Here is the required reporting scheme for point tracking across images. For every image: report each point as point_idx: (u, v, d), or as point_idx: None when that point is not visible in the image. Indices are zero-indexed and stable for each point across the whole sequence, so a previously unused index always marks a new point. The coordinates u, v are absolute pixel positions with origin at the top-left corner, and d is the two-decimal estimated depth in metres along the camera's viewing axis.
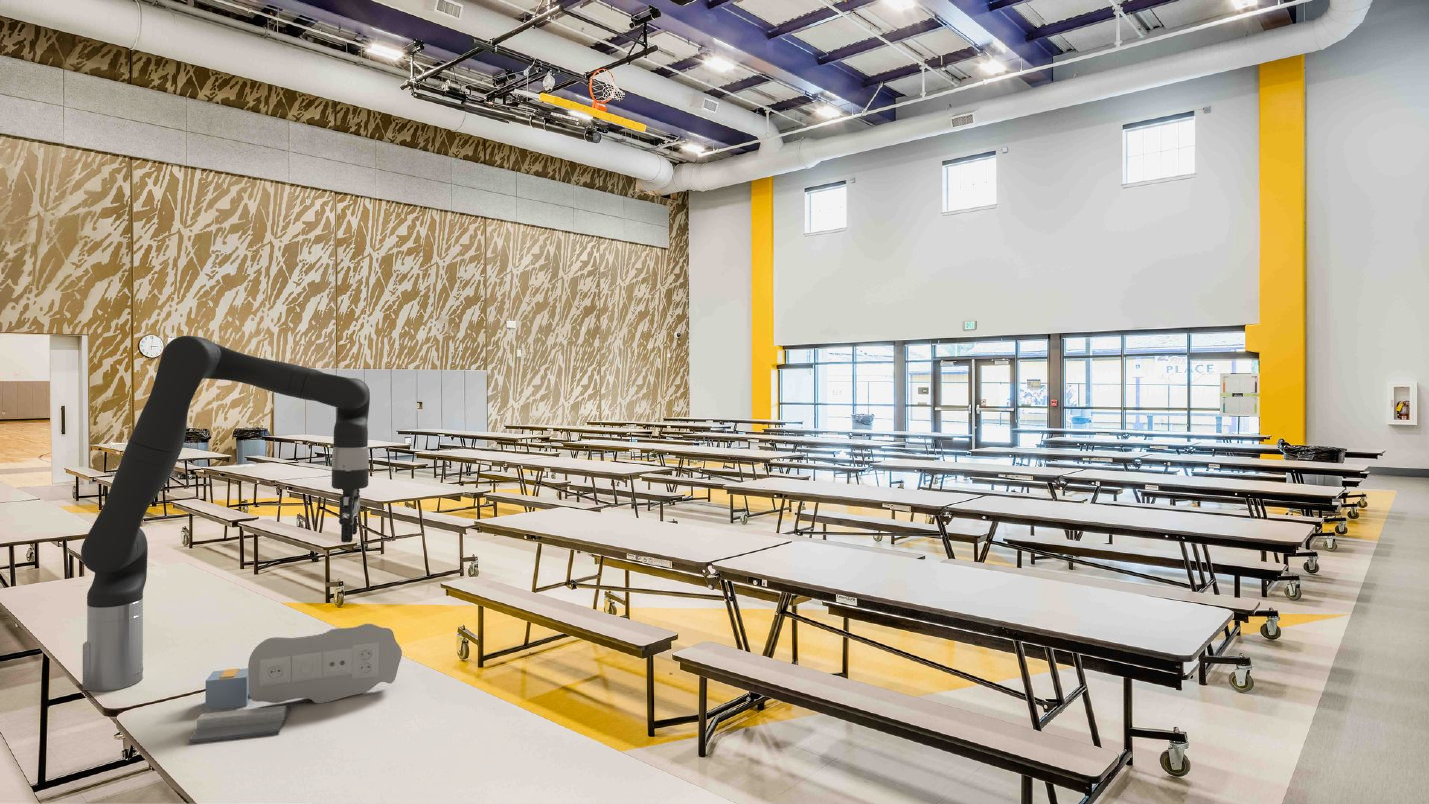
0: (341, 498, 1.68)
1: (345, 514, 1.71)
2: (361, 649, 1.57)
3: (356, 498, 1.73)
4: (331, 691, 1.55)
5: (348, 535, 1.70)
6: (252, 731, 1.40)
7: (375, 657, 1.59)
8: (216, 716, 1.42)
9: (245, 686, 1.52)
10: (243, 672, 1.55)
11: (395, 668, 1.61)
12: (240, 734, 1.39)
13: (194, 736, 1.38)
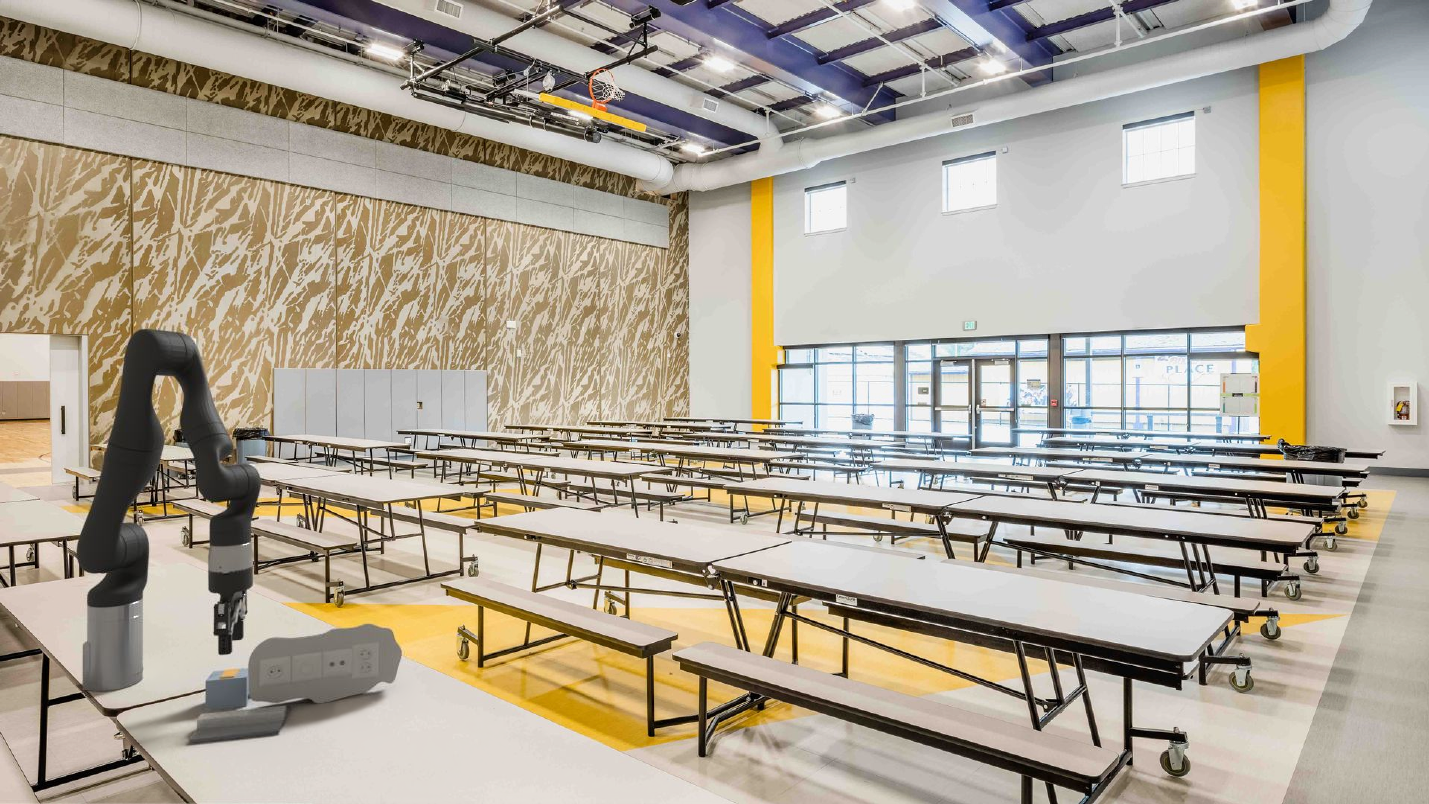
0: (215, 606, 1.47)
1: (223, 622, 1.50)
2: (361, 649, 1.57)
3: (237, 602, 1.52)
4: (331, 691, 1.55)
5: (226, 647, 1.49)
6: (252, 731, 1.40)
7: (375, 657, 1.59)
8: (216, 716, 1.42)
9: (245, 686, 1.52)
10: (243, 672, 1.55)
11: (395, 668, 1.61)
12: (240, 734, 1.39)
13: (194, 736, 1.38)
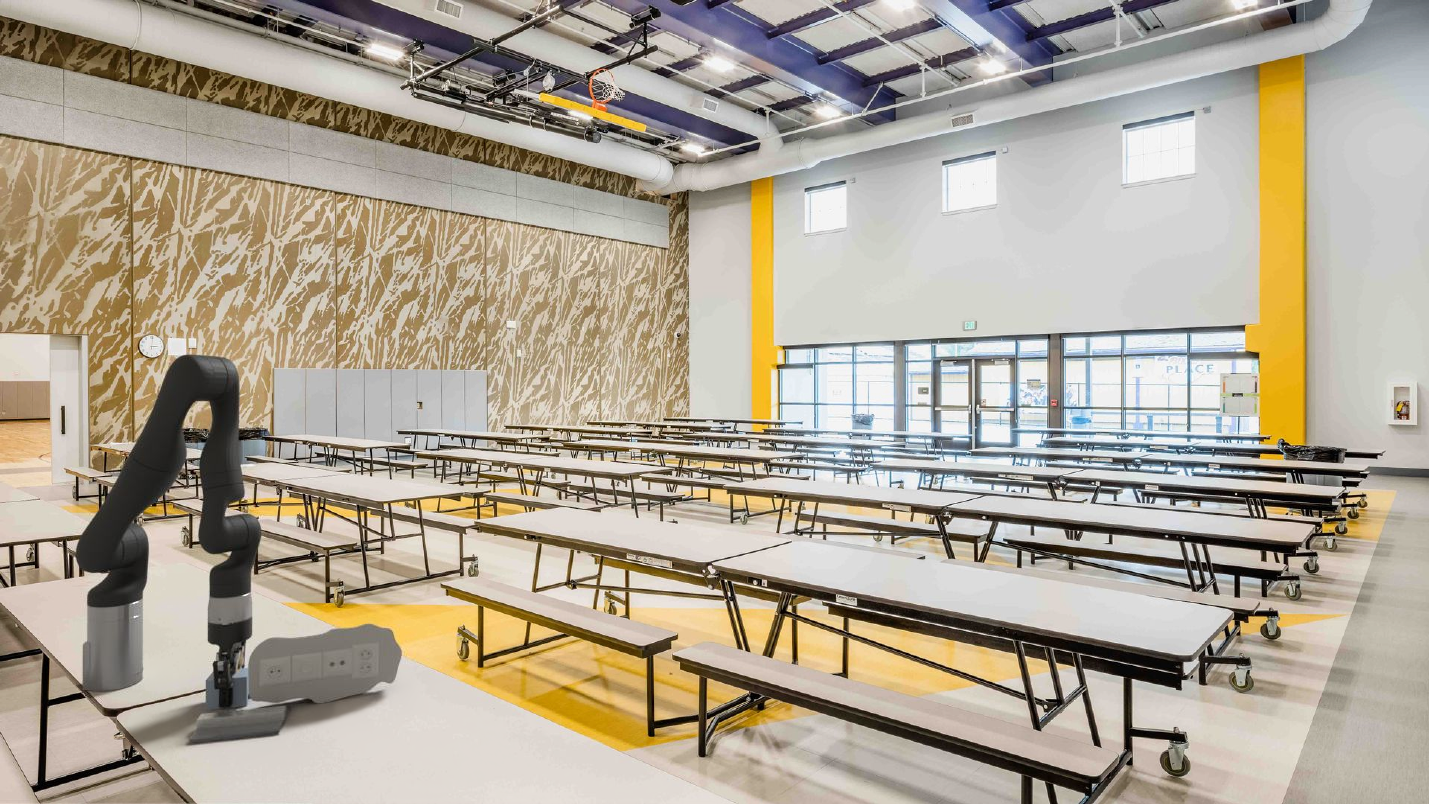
0: (214, 664, 1.47)
1: None
2: (361, 649, 1.57)
3: (236, 654, 1.52)
4: (331, 691, 1.55)
5: (226, 700, 1.50)
6: (252, 731, 1.40)
7: (375, 657, 1.59)
8: (216, 716, 1.42)
9: (245, 686, 1.52)
10: (243, 672, 1.55)
11: (395, 668, 1.61)
12: (240, 734, 1.39)
13: (194, 736, 1.38)
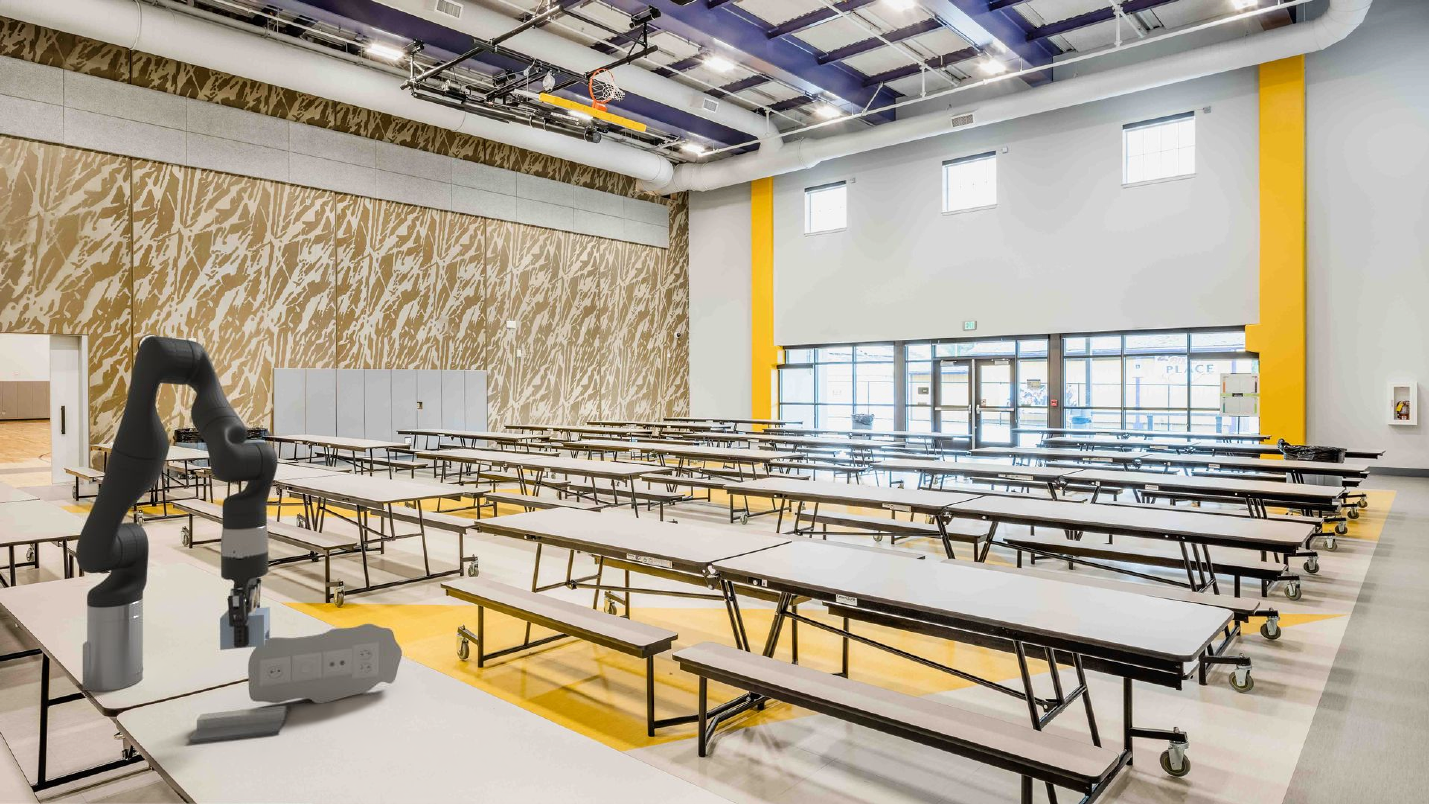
0: (229, 599, 1.37)
1: None
2: (361, 649, 1.57)
3: (252, 590, 1.42)
4: (331, 691, 1.55)
5: (242, 639, 1.40)
6: (252, 731, 1.40)
7: (375, 657, 1.59)
8: (216, 716, 1.42)
9: (262, 624, 1.42)
10: (259, 610, 1.45)
11: (395, 668, 1.61)
12: (240, 734, 1.39)
13: (194, 736, 1.38)
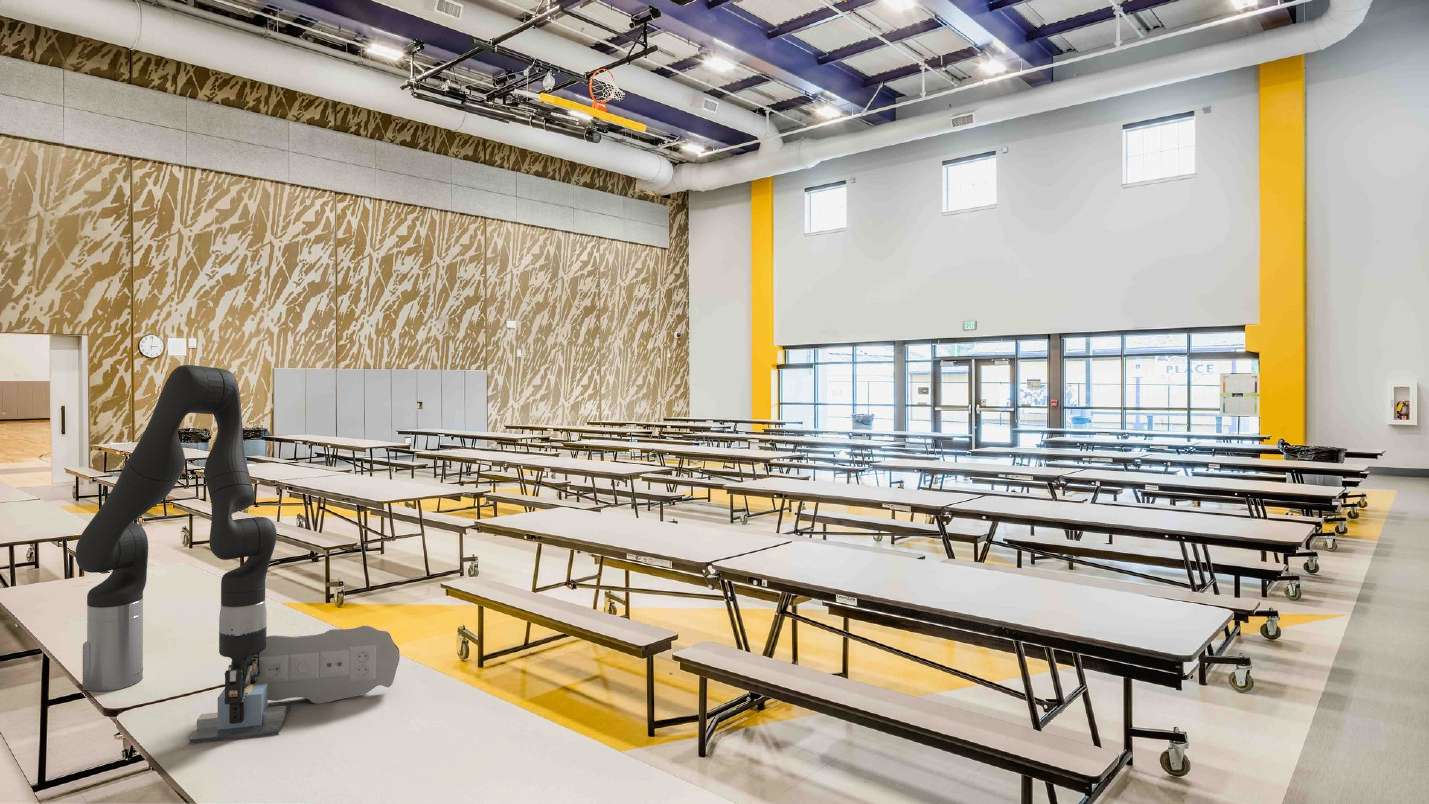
0: (227, 673, 1.37)
1: None
2: (358, 651, 1.56)
3: (250, 666, 1.42)
4: (329, 692, 1.55)
5: (238, 715, 1.39)
6: (252, 731, 1.40)
7: (372, 660, 1.57)
8: (216, 716, 1.42)
9: (260, 704, 1.42)
10: (257, 688, 1.45)
11: (393, 672, 1.59)
12: (240, 734, 1.39)
13: (194, 736, 1.38)
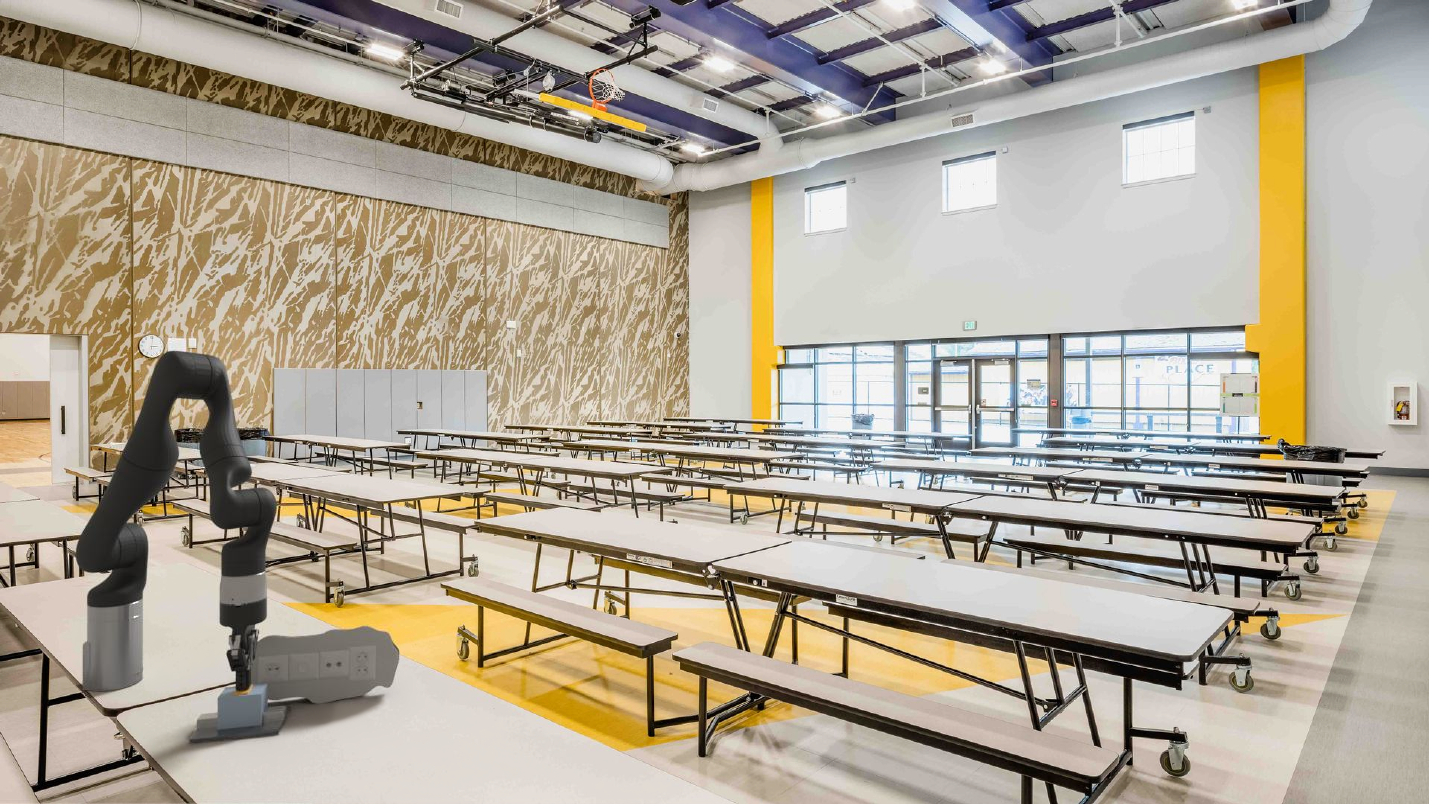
0: (228, 654, 1.37)
1: None
2: (357, 652, 1.56)
3: (250, 638, 1.42)
4: (328, 692, 1.55)
5: (244, 682, 1.43)
6: (252, 731, 1.40)
7: (372, 660, 1.57)
8: (216, 716, 1.42)
9: (260, 704, 1.42)
10: (257, 688, 1.45)
11: (392, 672, 1.58)
12: (240, 734, 1.39)
13: (194, 736, 1.38)
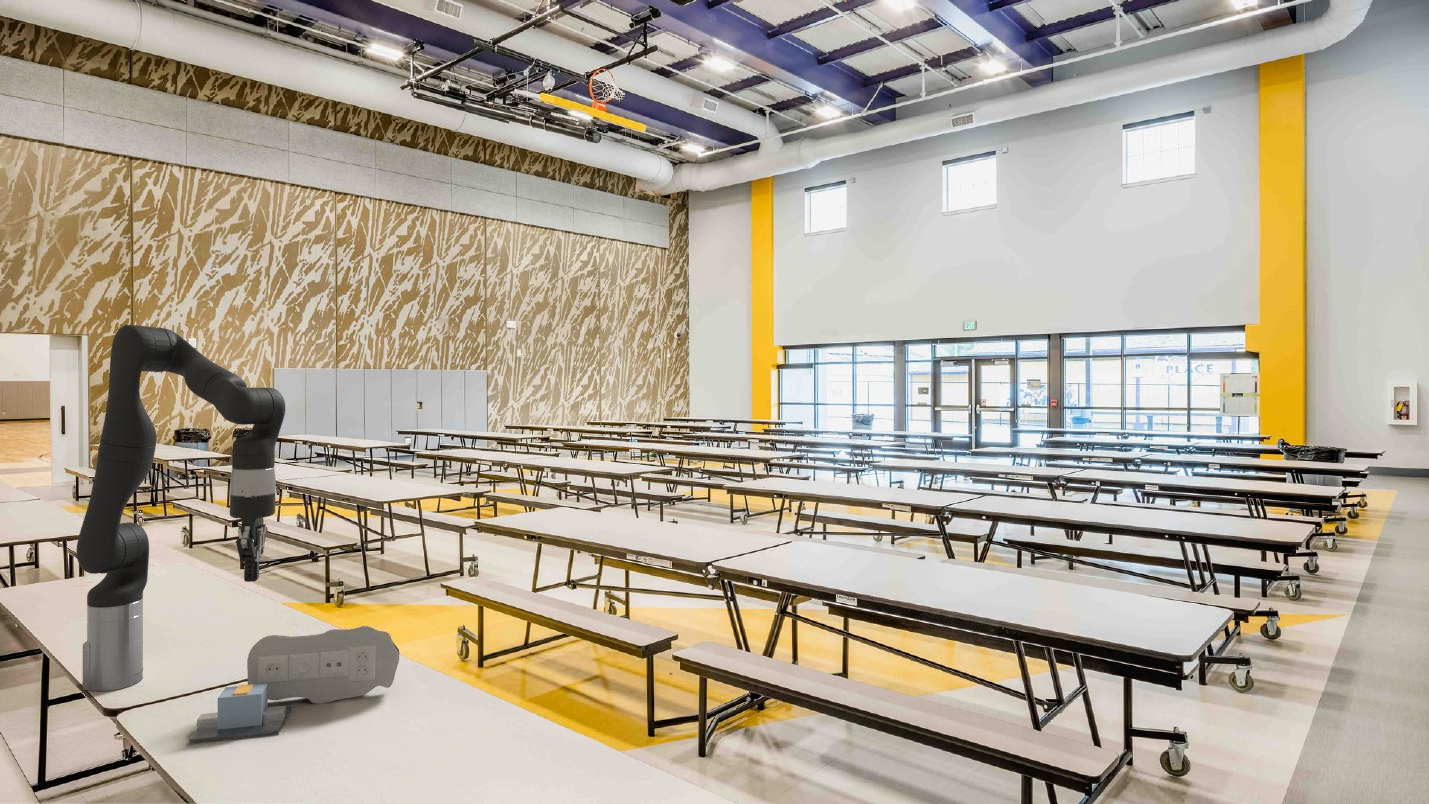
0: (238, 543, 1.43)
1: None
2: (357, 652, 1.56)
3: (259, 531, 1.48)
4: (328, 692, 1.55)
5: (252, 573, 1.48)
6: (252, 731, 1.40)
7: (372, 660, 1.57)
8: (216, 716, 1.42)
9: (260, 704, 1.42)
10: (257, 688, 1.45)
11: (392, 672, 1.58)
12: (240, 734, 1.39)
13: (194, 736, 1.38)
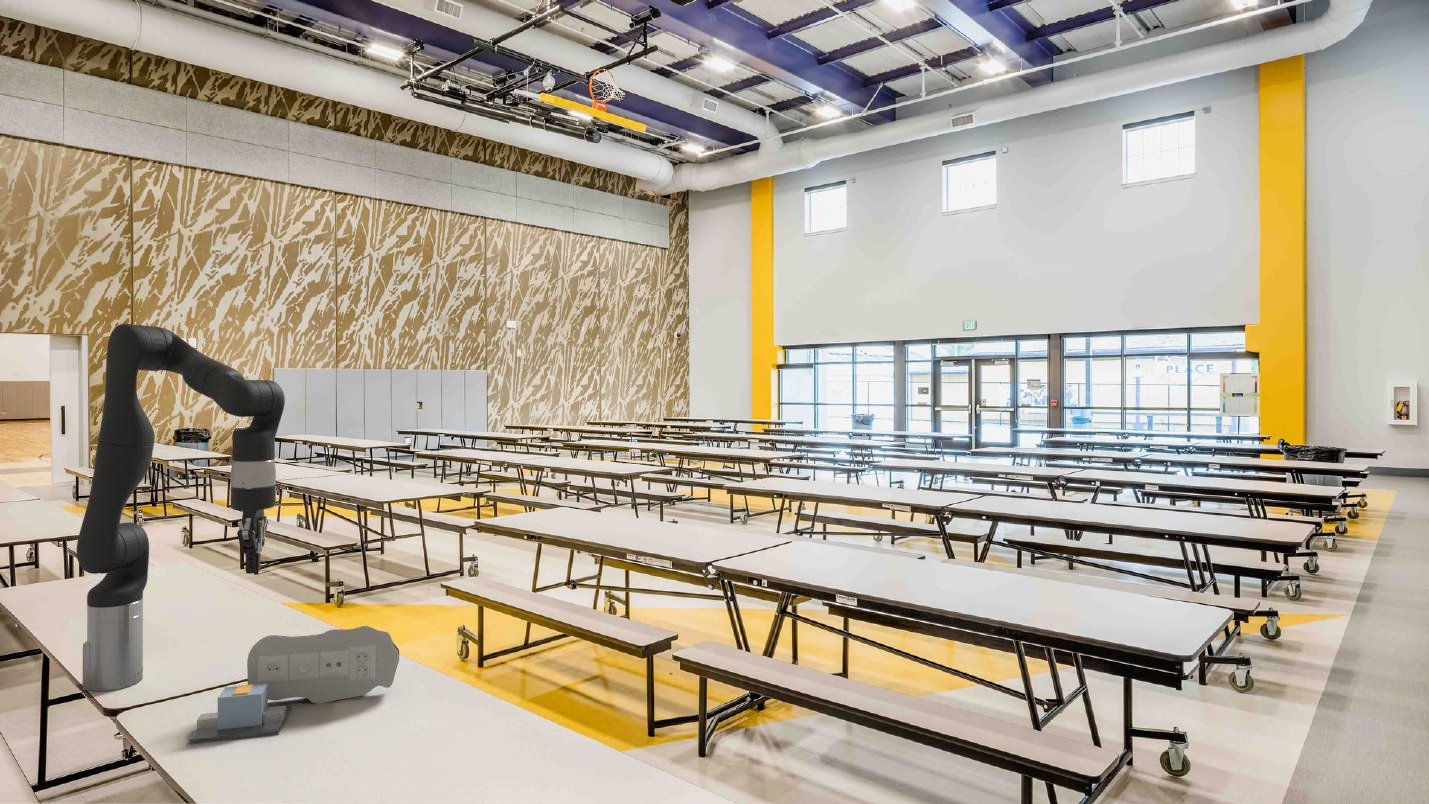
0: (239, 534, 1.43)
1: None
2: (357, 652, 1.56)
3: (260, 522, 1.48)
4: (328, 692, 1.55)
5: (253, 565, 1.49)
6: (252, 731, 1.40)
7: (372, 660, 1.57)
8: (216, 716, 1.42)
9: (260, 704, 1.42)
10: (257, 688, 1.45)
11: (392, 672, 1.58)
12: (240, 734, 1.39)
13: (194, 736, 1.38)
